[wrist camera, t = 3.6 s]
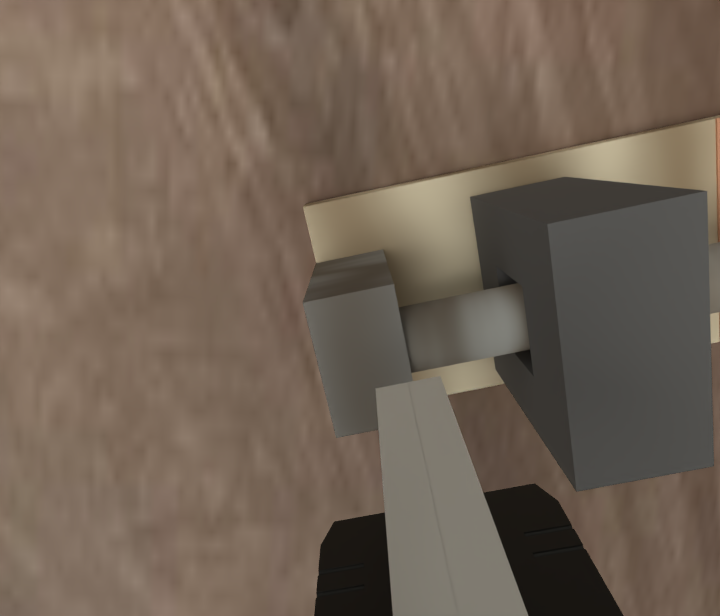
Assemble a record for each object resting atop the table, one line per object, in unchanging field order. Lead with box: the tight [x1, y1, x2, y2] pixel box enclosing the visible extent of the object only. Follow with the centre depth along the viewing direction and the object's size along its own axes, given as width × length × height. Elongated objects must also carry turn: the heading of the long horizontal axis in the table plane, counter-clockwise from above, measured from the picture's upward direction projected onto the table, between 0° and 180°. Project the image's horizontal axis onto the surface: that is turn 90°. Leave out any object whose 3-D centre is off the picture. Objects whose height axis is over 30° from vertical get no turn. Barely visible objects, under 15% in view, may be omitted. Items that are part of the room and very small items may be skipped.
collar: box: [470, 177, 714, 491], centre depth 19 cm, size 4×8×9 cm, turn 12°
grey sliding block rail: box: [303, 115, 720, 438], centre depth 21 cm, size 30×10×8 cm, turn 102°
